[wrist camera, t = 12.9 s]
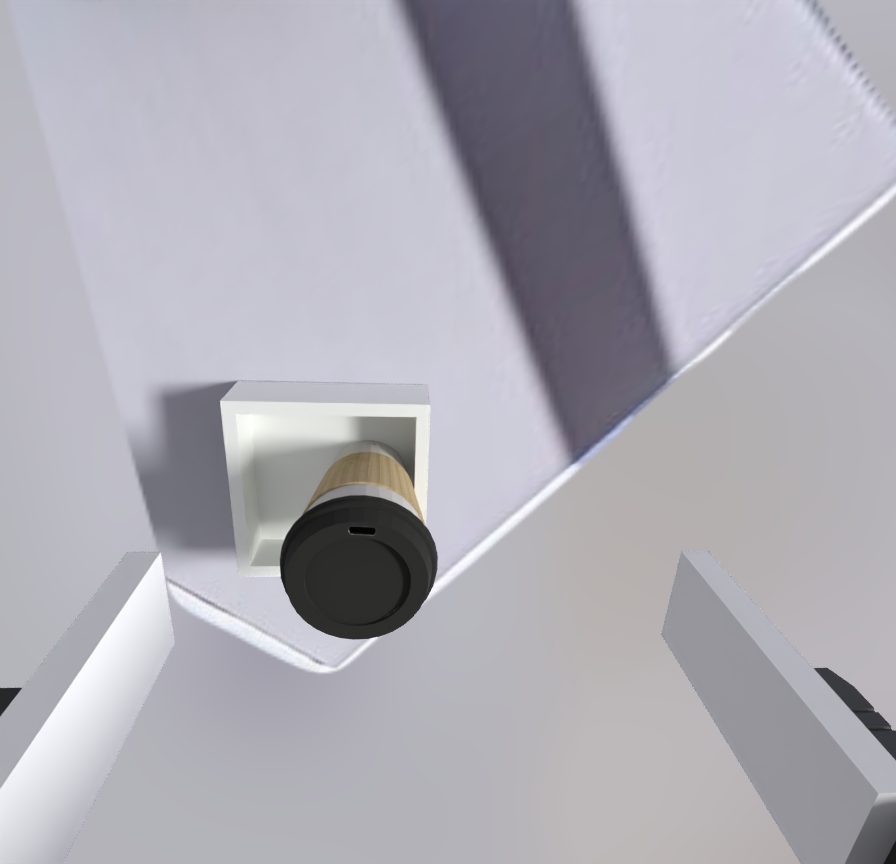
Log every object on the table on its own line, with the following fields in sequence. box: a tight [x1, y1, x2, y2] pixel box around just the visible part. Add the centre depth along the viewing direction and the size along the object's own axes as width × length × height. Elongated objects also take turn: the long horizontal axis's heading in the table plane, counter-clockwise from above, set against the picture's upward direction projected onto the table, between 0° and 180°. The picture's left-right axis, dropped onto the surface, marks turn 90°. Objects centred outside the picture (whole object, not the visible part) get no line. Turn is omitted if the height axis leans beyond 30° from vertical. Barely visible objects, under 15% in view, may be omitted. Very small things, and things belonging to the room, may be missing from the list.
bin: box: [220, 381, 430, 577], centre depth 46 cm, size 15×15×5 cm
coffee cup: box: [280, 440, 438, 639], centre depth 41 cm, size 10×10×15 cm
